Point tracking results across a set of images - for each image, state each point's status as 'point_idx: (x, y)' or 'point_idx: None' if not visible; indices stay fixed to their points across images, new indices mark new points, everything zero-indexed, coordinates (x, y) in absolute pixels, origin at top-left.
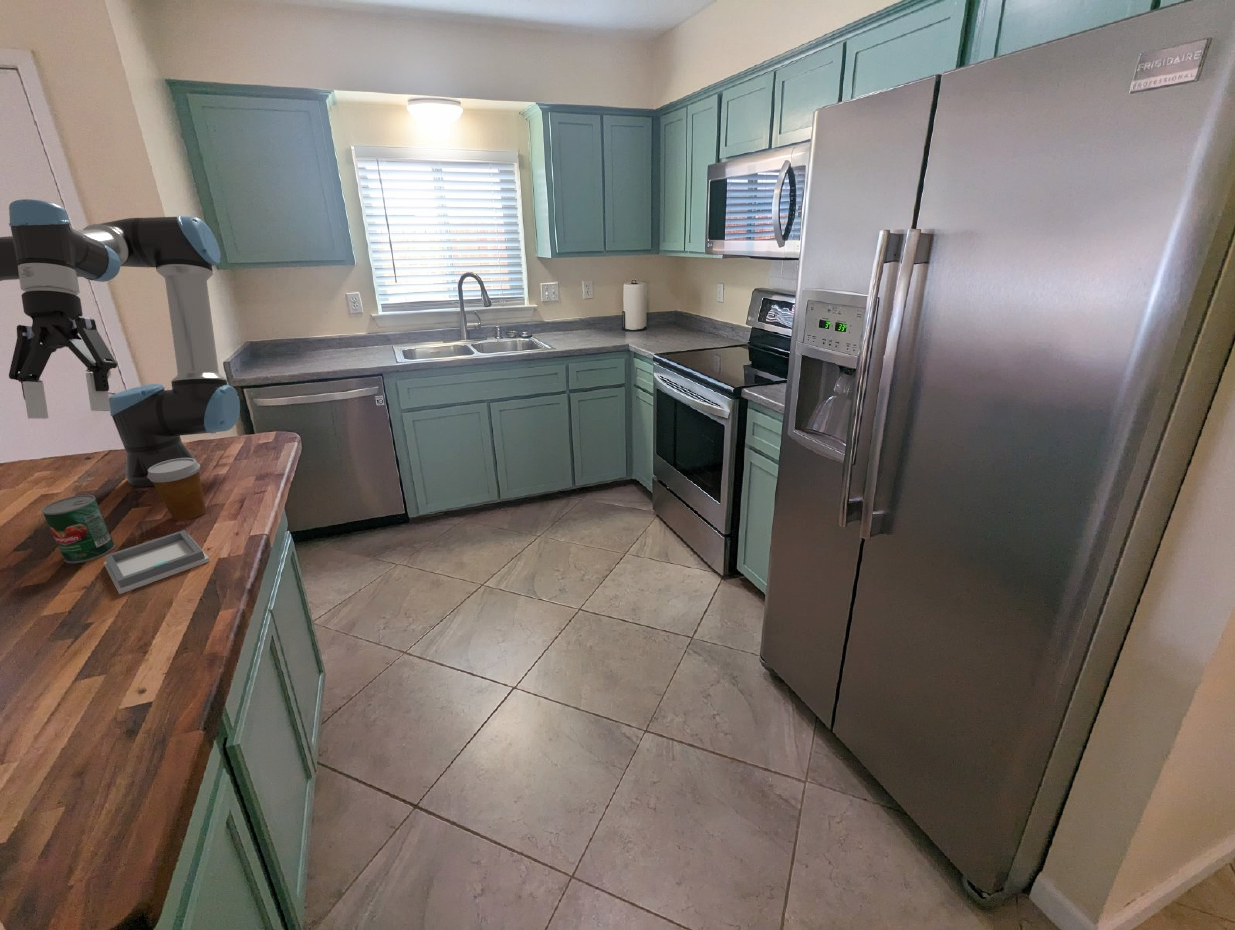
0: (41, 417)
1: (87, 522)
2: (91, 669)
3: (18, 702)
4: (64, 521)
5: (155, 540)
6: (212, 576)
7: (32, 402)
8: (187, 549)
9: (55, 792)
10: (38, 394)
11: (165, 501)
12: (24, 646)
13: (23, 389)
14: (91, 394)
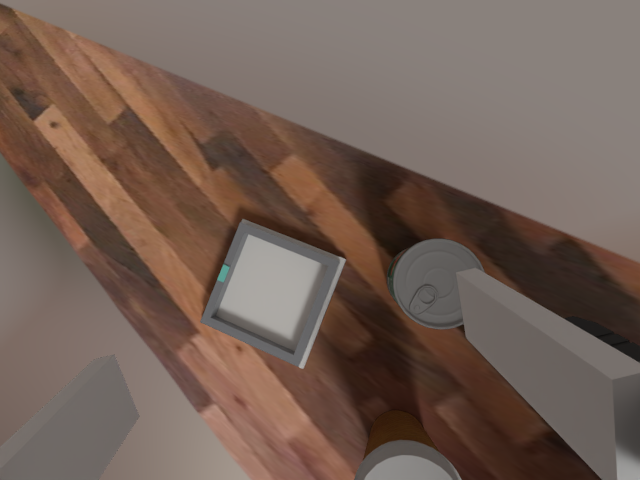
0: (463, 312)
1: (391, 280)
2: (129, 122)
3: (148, 69)
4: (404, 252)
5: (309, 323)
6: (165, 292)
7: (499, 318)
8: (256, 330)
9: (17, 37)
10: (540, 384)
11: (401, 424)
12: (241, 114)
13: (634, 352)
14: (45, 410)
